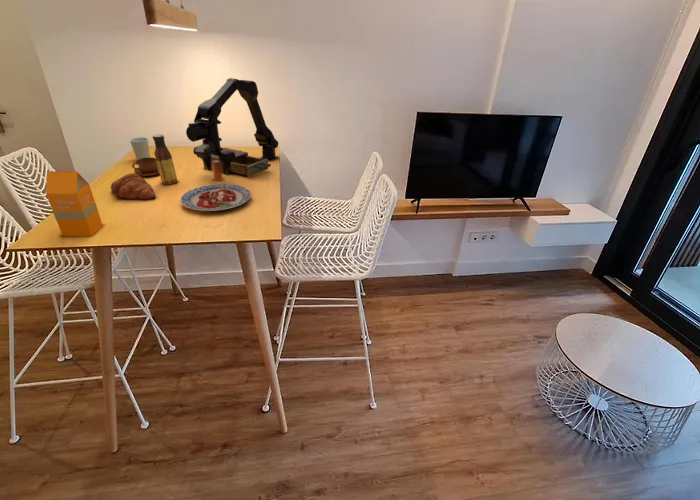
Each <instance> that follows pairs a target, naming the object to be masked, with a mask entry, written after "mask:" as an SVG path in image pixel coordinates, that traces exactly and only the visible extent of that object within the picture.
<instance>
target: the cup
mask: <svg viewBox="0 0 700 500" xmlns="http://www.w3.org/2000/svg"><path fill="white" fill-rule="evenodd" d="M129 143H130V145H131V147H132V150H133V152H134V155H135V158H136V161H137V162H138V160H139V159H142V158H148V157H151V155H150V145H149V138H148V137H142V136H141V137H133V138H130V139H129Z"/></svg>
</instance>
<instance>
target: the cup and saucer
mask: <svg viewBox="0 0 700 500" xmlns="http://www.w3.org/2000/svg"><path fill="white" fill-rule="evenodd" d="M135 165H138V167H135ZM131 167H132V169H134V170H133V173H134V174H137V175H139V176H141V177H149V176H150V177H151V176H157V175H160V173H159V170H158V166H157V162H156V157H151V156H150V157H148V158H142V159H139V160H138V161H137V162H133V163H132V165H131Z"/></svg>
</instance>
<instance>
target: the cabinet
mask: <svg viewBox="0 0 700 500" xmlns="http://www.w3.org/2000/svg"><path fill="white" fill-rule="evenodd" d="M222 148H223V150H222V151H221V152H224V151H227V150H228V151H232V152H234V153H235V157H236V158H239V157H241V156H244V155H246V156H249V152H247V151H242V150H238V149H234V148H230V147H222ZM236 158H235V159H236ZM214 160H218V161H219V160H220V159H219V156H216V155H211V170H210V171H212V172H213V168H212V161H214ZM202 164H203V169H204V170H208V169H207V167H206V166H205V164H204V162H203V161H202ZM220 166H221V173H222V174H224V173H223V169H222V164H221V163H220ZM232 173H234V172H231V171H229V170H228V171H227V173H226V174H225V175H231V174H232Z"/></svg>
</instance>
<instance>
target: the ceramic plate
mask: <svg viewBox="0 0 700 500" xmlns="http://www.w3.org/2000/svg"><path fill="white" fill-rule="evenodd" d="M251 196H252V193H251V190H249V189H248V188H246V187H244V186H241V185H237V184H231V183H215V184H206V185H201V186H198V187H195V188H193V189H189V190H188V191H186V192H184V193H183V194H182V195H181V196H180V199H179V200H180V203H181V205H182V206H183V207H185V208H187V209H190V210H193V211H199V212H200V211H201V212H216V211H225V210H229V209H233V208H236V207H239V206H241V205H243V204H245V203H247V202H248V201H249V200H250V199H251Z"/></svg>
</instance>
